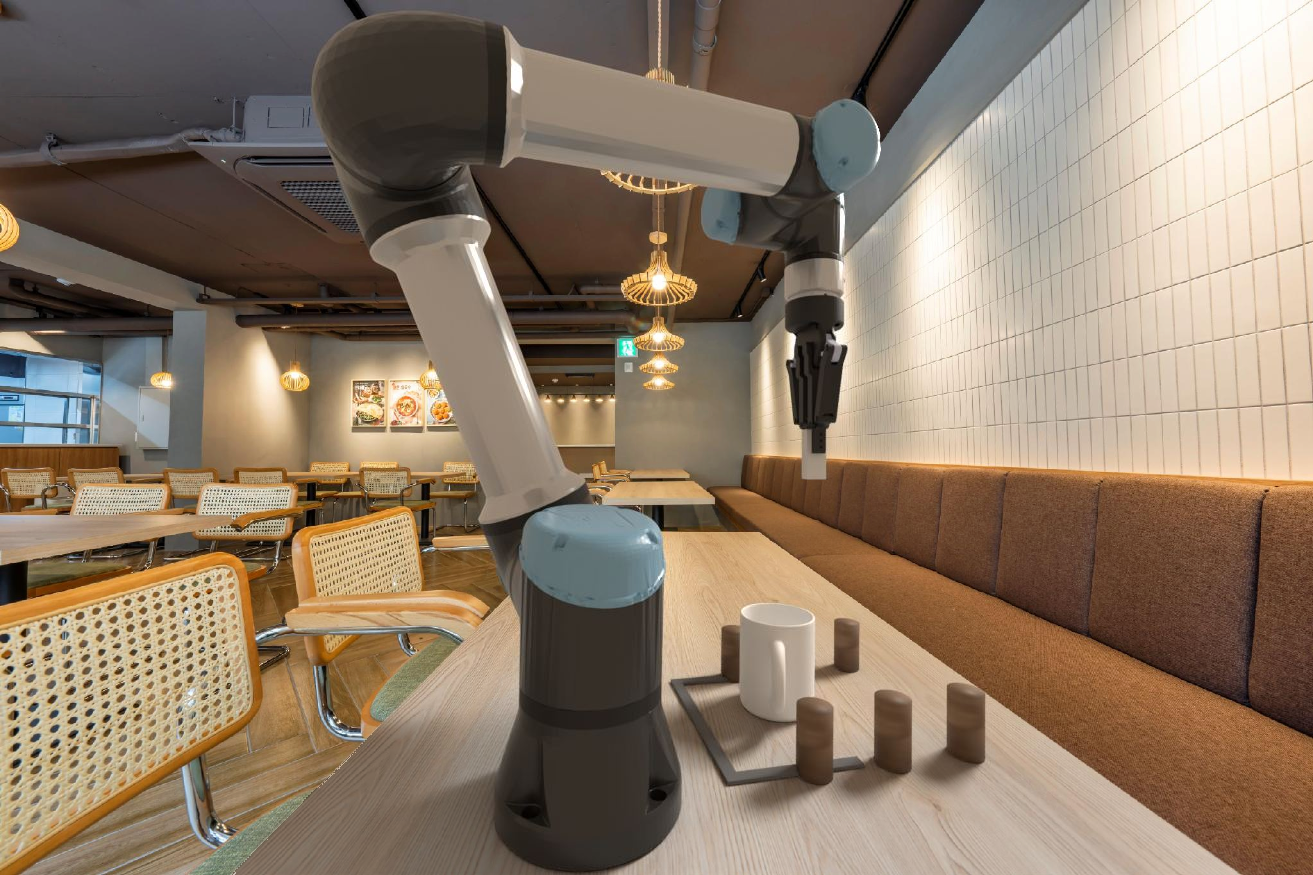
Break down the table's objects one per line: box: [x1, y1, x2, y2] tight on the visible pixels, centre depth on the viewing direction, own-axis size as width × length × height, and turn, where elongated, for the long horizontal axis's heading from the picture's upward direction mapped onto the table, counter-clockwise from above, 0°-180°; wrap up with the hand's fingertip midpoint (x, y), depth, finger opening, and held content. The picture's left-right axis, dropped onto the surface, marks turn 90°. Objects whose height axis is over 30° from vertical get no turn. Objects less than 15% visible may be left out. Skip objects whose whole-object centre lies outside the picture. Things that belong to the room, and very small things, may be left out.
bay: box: [670, 674, 866, 786], centre depth 56 cm, size 13×20×1 cm, turn 13°
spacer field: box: [720, 617, 986, 786], centre depth 58 cm, size 19×23×6 cm
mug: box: [738, 602, 816, 723], centre depth 57 cm, size 12×8×10 cm
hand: (813, 478), depth 69 cm, fingers closed
